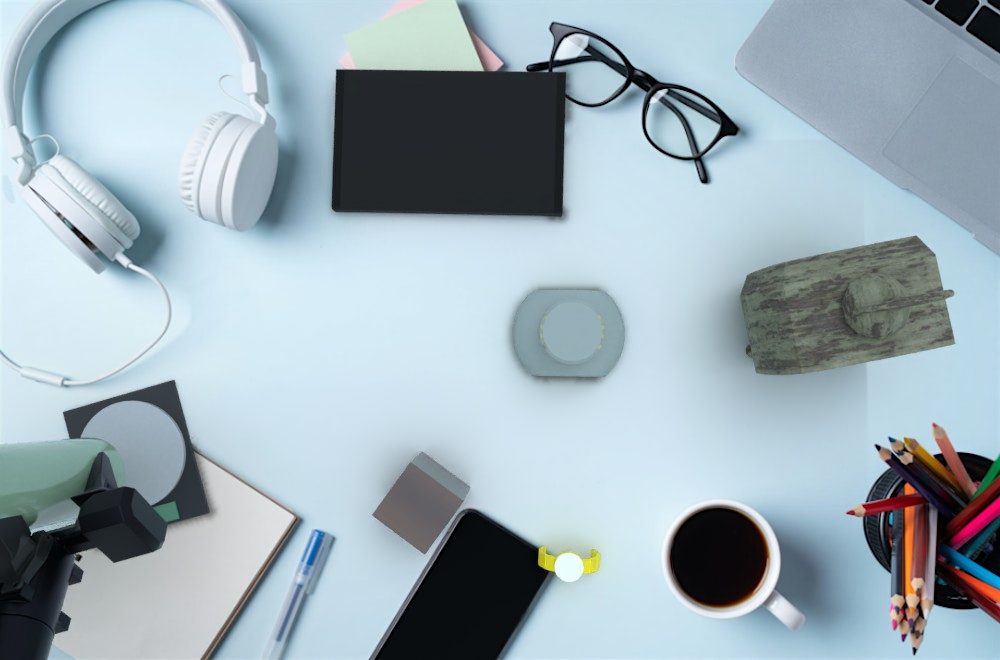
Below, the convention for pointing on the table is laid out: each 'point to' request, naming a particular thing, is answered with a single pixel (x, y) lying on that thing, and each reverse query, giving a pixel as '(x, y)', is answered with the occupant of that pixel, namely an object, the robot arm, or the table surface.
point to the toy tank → (846, 308)
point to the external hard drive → (449, 142)
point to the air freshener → (568, 333)
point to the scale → (148, 447)
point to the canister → (50, 477)
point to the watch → (569, 564)
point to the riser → (422, 502)
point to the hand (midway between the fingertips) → (64, 465)
